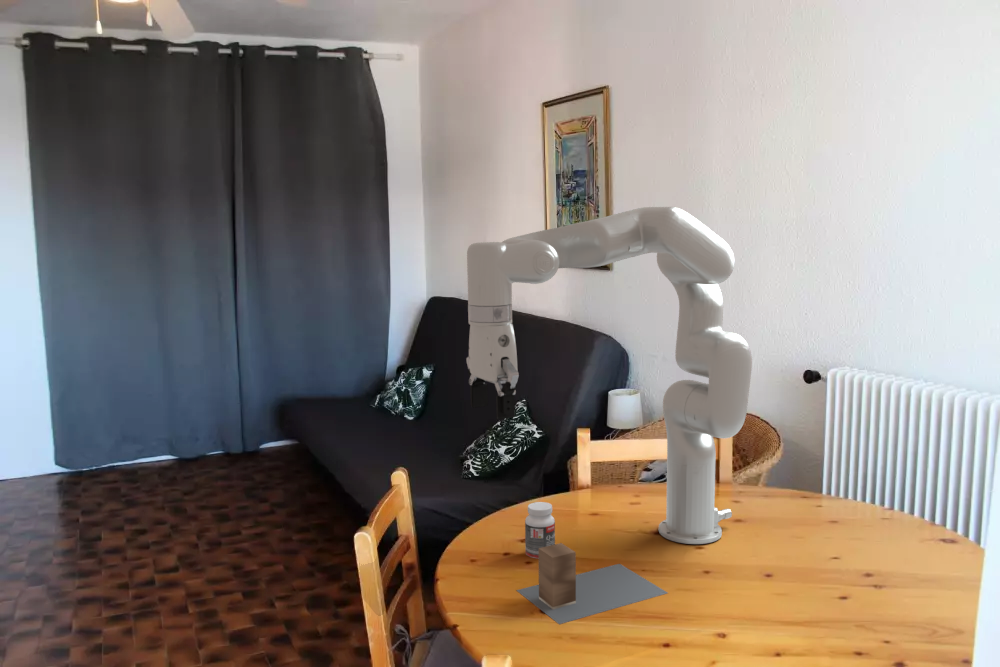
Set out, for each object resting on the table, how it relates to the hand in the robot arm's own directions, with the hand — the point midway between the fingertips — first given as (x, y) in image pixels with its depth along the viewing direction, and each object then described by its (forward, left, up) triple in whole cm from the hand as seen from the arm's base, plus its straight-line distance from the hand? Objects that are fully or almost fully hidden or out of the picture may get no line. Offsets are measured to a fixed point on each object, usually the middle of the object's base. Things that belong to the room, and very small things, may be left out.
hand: (492, 412), depth 147 cm
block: (-5, +13, -31) cm, 34 cm away
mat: (-12, +13, -31) cm, 36 cm away
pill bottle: (-13, -6, -31) cm, 35 cm away
